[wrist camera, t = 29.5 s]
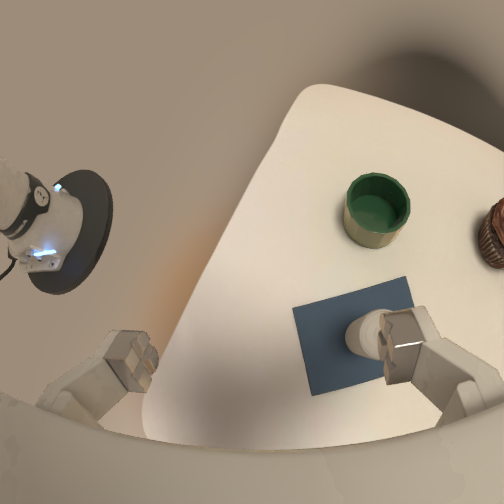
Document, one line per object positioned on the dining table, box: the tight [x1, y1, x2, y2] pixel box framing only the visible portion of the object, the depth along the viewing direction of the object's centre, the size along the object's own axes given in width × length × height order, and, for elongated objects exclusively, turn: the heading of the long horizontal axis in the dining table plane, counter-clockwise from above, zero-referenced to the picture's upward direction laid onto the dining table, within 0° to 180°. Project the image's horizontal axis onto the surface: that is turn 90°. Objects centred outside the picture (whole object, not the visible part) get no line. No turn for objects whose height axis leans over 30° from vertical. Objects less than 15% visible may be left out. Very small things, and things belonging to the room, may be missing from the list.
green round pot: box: [343, 173, 410, 248], centre depth 37 cm, size 8×8×6 cm
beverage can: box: [345, 309, 392, 360], centre depth 29 cm, size 5×5×12 cm
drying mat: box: [293, 276, 414, 396], centre depth 35 cm, size 16×12×1 cm
